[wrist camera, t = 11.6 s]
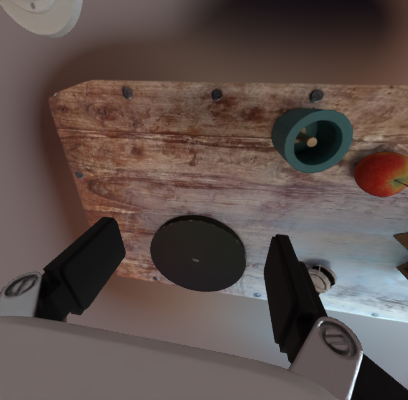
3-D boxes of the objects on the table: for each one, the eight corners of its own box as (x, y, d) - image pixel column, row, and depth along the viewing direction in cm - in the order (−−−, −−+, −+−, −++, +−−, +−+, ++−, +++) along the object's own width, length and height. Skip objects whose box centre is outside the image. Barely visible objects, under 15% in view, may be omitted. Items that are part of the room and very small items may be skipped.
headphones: (342, 240, 46) (321, 287, 56) (300, 236, 48) (287, 283, 58) (360, 265, 39) (333, 314, 49) (310, 260, 41) (293, 309, 51)
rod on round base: (287, 123, 35) (303, 129, 27) (306, 123, 35) (328, 130, 26) (282, 141, 37) (296, 153, 28) (301, 142, 37) (320, 154, 28)
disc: (253, 222, 48) (254, 229, 46) (238, 290, 63) (238, 299, 60) (149, 208, 52) (145, 213, 49) (157, 276, 66) (154, 283, 64)
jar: (276, 107, 35) (293, 108, 25) (325, 108, 34) (364, 110, 23) (267, 153, 39) (278, 170, 29) (310, 155, 38) (338, 175, 28)
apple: (362, 141, 35) (403, 153, 27) (400, 154, 35) (454, 170, 27) (336, 177, 39) (364, 197, 31) (370, 188, 39) (408, 212, 31)
